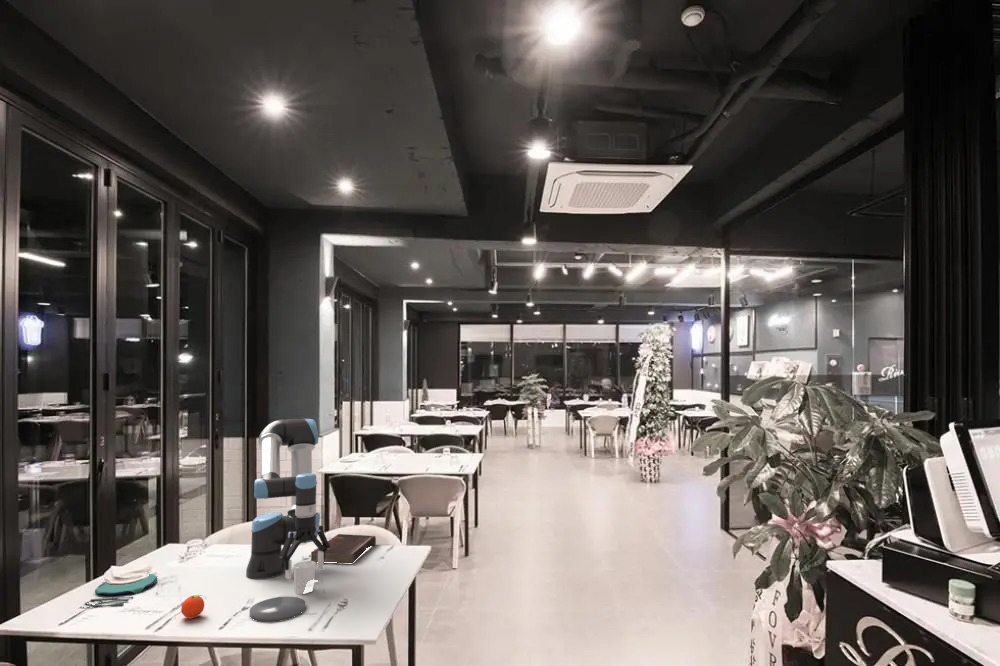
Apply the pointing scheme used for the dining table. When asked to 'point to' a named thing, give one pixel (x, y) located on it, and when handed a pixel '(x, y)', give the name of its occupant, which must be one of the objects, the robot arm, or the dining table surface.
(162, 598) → the dining table surface
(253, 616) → the slate plate
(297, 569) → the white cup
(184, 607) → the clementine
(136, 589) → the cutlery set
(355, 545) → the hardback book
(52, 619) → the dining table surface
